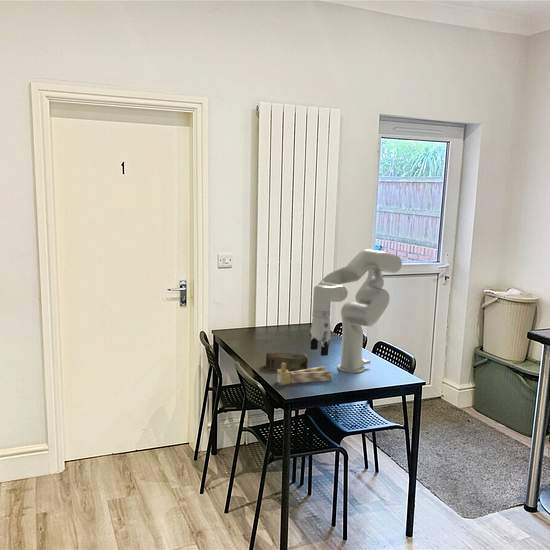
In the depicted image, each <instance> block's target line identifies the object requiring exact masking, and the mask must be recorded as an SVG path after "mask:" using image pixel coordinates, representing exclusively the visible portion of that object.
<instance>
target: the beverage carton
mask: <svg viewBox="0 0 550 550" xmlns="http://www.w3.org/2000/svg"><path fill="white" fill-rule="evenodd" d="M282 362H284V363H286V369H287V370H288V371H298V370H304V369H308V366H309V365H308V362H309V361H308V356H307V354H306V353H288V352H287V353H283V352H266V356H265V367H266V370H267V371H269V370H270V371H277V370H278V369H281V364H282Z"/></svg>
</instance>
